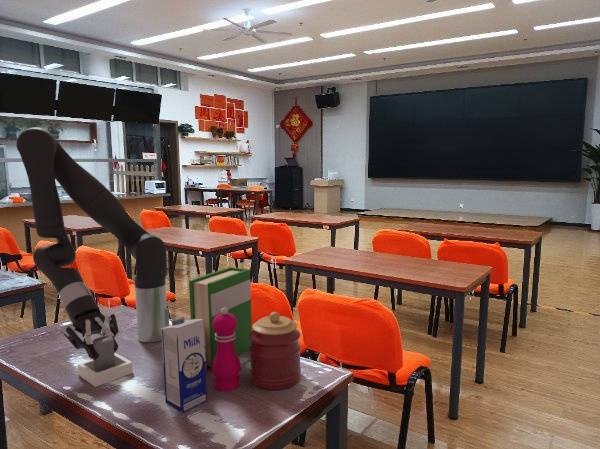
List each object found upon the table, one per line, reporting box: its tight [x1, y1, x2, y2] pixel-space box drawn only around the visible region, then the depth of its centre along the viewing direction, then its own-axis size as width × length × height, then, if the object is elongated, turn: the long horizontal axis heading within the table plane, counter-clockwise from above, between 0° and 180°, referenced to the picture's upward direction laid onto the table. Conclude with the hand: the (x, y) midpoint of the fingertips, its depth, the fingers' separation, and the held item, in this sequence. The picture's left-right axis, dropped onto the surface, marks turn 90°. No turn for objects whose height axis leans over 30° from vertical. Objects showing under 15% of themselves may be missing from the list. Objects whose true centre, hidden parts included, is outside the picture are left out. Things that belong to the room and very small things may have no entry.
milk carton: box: [161, 317, 208, 414], centre depth 104 cm, size 7×7×20 cm
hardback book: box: [188, 266, 253, 372], centre depth 129 cm, size 18×7×24 cm, turn 151°
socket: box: [77, 352, 134, 388], centre depth 120 cm, size 10×10×3 cm
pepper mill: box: [211, 308, 242, 392], centre depth 112 cm, size 7×7×20 cm
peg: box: [92, 336, 115, 373], centre depth 119 cm, size 5×5×8 cm
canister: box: [249, 311, 302, 391], centre depth 115 cm, size 13×13×18 cm
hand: (105, 354), depth 119 cm, fingers closed on peg, 4 cm apart
